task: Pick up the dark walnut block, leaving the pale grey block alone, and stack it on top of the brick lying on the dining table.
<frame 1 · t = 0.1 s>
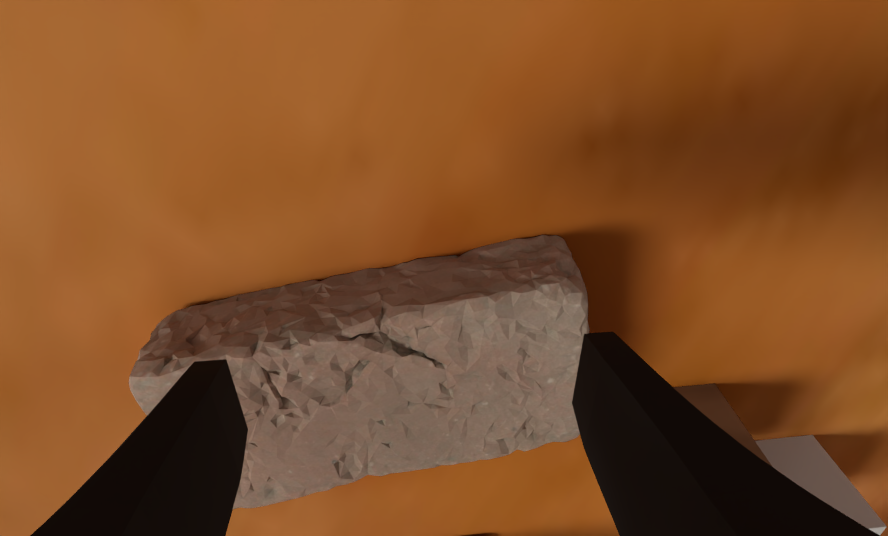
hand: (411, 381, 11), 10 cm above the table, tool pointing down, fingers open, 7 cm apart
walnut block: (662, 417, 29), on the table
grey block: (761, 463, 32), on the table
brick: (383, 333, 24), on the table
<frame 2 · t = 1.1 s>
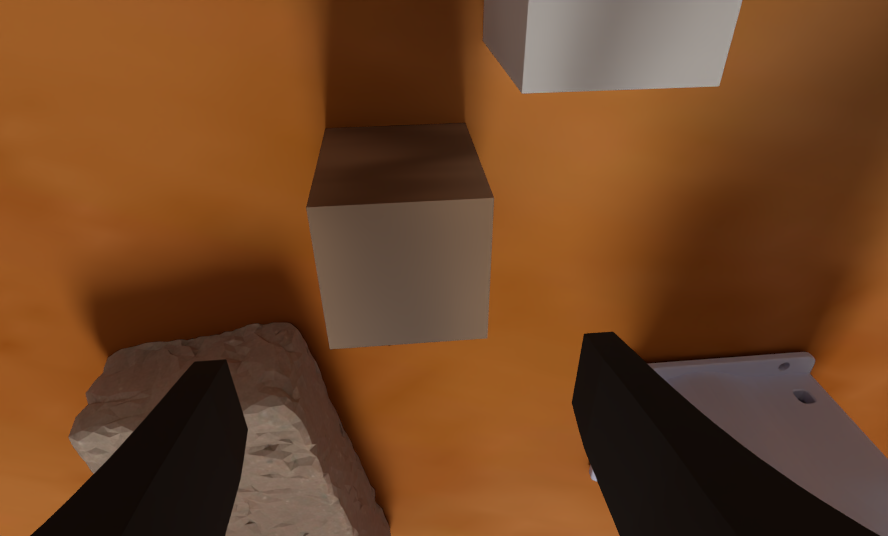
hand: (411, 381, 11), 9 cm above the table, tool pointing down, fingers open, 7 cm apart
walnut block: (399, 188, 19), on the table
brick: (271, 453, 27), on the table
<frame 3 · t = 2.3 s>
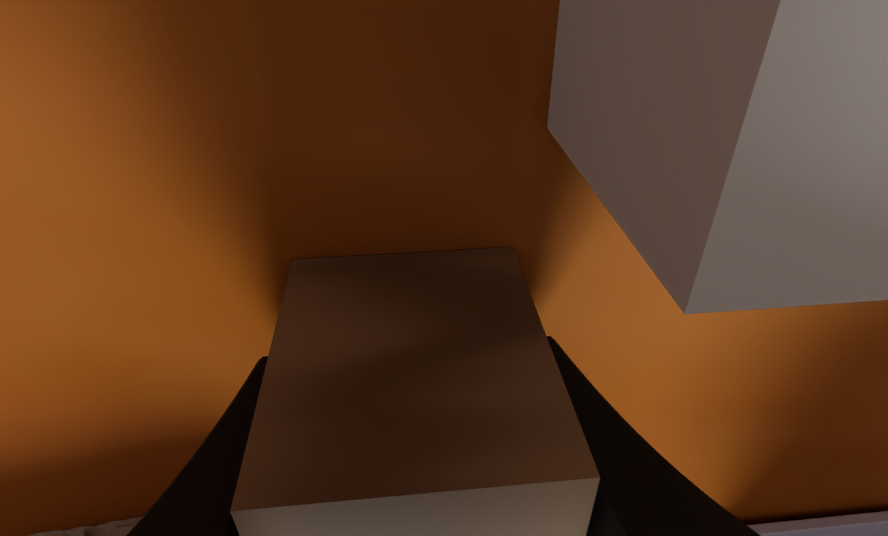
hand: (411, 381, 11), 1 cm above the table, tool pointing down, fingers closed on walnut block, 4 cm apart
walnut block: (408, 336, 12), on the table, touching gripper
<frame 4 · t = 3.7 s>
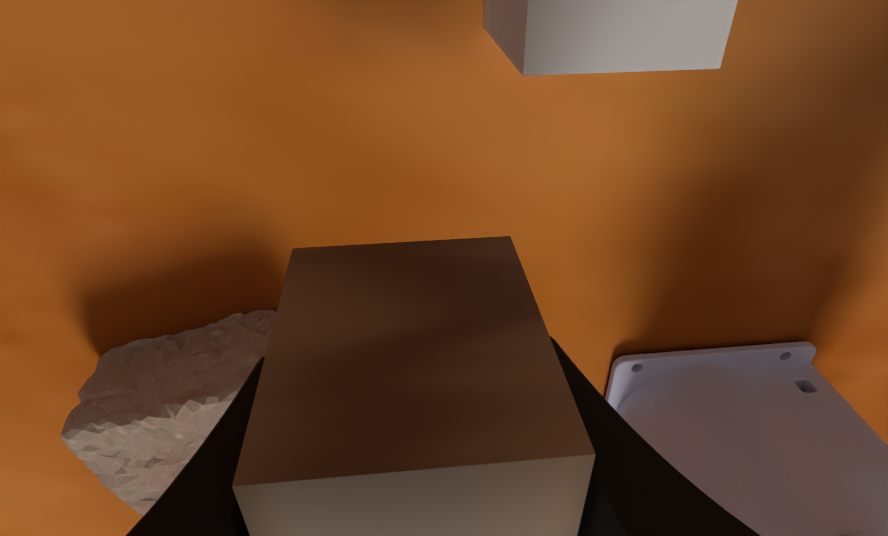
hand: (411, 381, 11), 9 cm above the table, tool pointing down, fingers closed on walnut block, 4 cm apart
walnut block: (407, 326, 13), point 8 cm above the table, touching gripper
brick: (275, 443, 27), on the table
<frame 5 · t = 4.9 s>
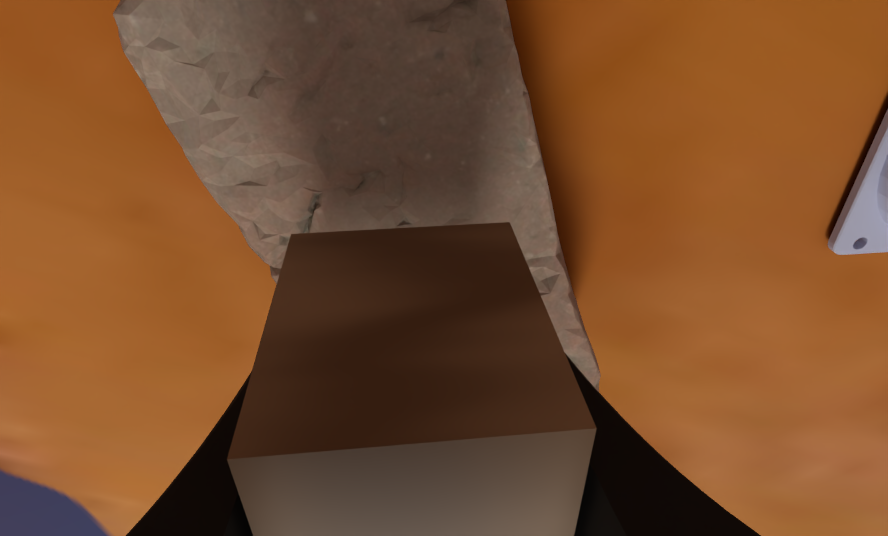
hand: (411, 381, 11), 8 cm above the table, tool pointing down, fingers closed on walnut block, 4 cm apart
walnut block: (406, 314, 12), point 7 cm above the table, touching gripper
brick: (405, 187, 19), on the table
when the fingers open (8 cm above the table, at t = 5.4 s): walnut block drops 2 cm, resting on brick.
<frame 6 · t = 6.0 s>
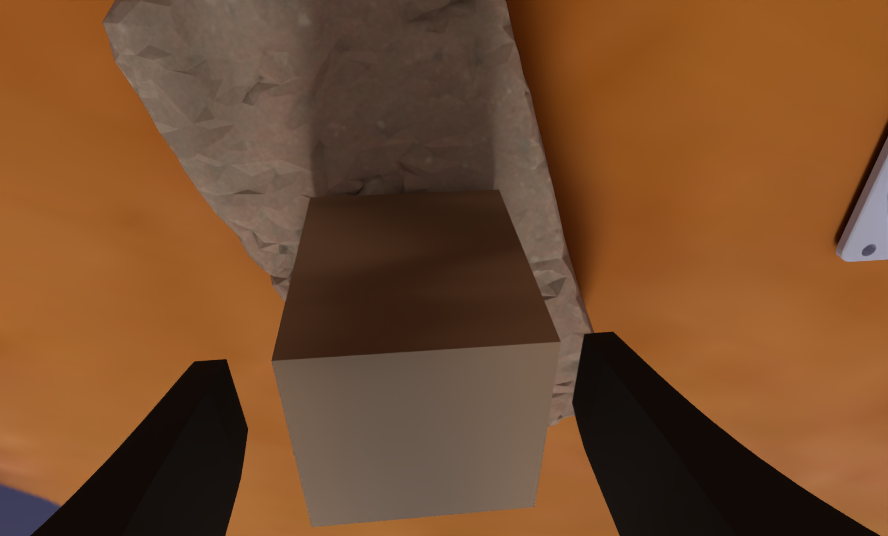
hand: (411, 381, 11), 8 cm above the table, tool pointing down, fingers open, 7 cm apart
walnut block: (409, 271, 14), point 4 cm above the table, touching brick
brick: (407, 191, 18), on the table, touching walnut block
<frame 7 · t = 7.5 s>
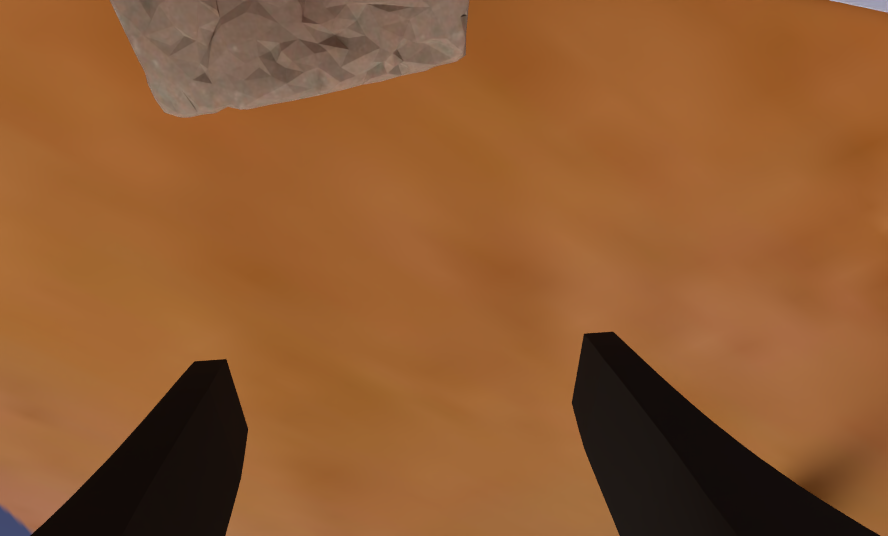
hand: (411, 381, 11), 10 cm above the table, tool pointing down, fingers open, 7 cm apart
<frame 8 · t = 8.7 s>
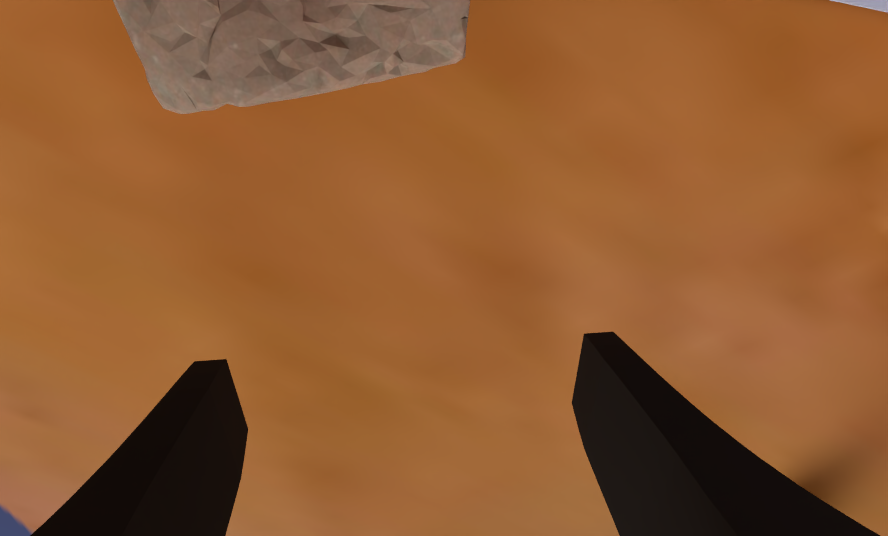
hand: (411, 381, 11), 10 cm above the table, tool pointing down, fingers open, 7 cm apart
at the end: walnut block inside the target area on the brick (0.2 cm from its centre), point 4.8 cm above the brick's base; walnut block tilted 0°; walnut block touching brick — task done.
